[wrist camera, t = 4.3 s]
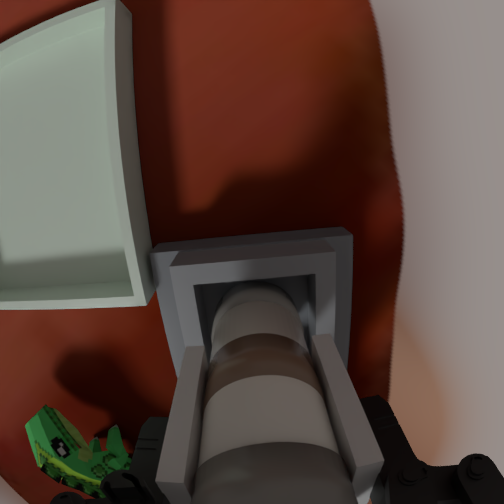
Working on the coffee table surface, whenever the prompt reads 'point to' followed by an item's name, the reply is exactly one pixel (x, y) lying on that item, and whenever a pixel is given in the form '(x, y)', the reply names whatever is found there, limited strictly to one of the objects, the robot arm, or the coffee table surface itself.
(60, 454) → the toy
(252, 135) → the coffee table surface
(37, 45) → the parts tray
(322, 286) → the fuse block
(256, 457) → the cylinder
